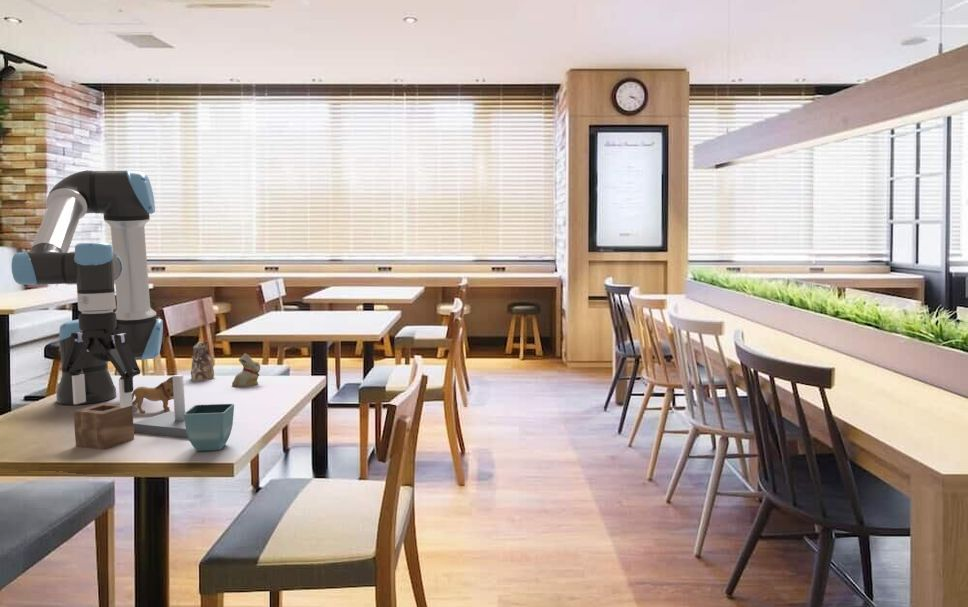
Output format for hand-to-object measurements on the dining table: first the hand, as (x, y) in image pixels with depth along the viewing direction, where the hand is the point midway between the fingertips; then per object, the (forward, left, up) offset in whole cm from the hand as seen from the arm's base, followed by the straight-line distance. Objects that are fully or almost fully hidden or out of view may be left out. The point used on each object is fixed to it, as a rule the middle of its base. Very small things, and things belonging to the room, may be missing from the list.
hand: (102, 405), depth 167 cm
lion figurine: (-11, +28, -9) cm, 31 cm away
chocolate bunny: (-8, +62, -9) cm, 63 cm away
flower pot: (+26, +4, -9) cm, 28 cm away
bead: (0, 0, -9) cm, 9 cm away
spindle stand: (+8, +15, -9) cm, 19 cm away
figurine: (-28, +66, -9) cm, 73 cm away
